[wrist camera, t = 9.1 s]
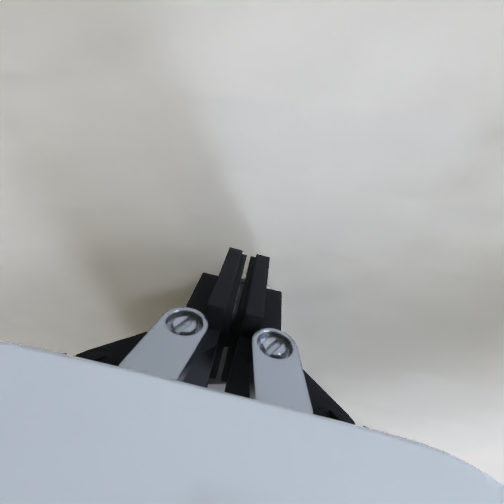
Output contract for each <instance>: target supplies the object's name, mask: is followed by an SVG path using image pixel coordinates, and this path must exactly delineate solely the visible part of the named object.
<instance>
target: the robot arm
mask: <svg viewBox="0 0 504 504" xmlns="http://www.w3.org/2000/svg"><path fill="white" fill-rule="evenodd" d="M242 252H243V251H242V250H238V249H234V248H230V249H229V251H228V254H227V256H226V259H225V261H224V264H223V266H222V269H221V271H220V274H219V276H215V275H211V274H207V273H203V274H202V276H201V278H200V280H199V282H198V284H197V285H196V287H195V289H194V291H193V293H192V295H191V297H190V299H189V301H188V303H187V305H186V307H179V308H174V309H171V310H169V311H167V312H166V313H165V314H163V316H162V317H161V318H160V319H159V320H158V321H157V322H156V324H155V325H154V326H153V327H152V328H151V329H150V330H149V331H148V332H145V333H141V334H138V335H135V336H132V337H129V338H125V339H122V340H119V341H116V342H113V343H109V344H106V345H103V346H100V347H97V348H93V349H90V350H87V351H84V352H82V353H80V354H77V355H76V356H71V355H67V353H58V352H54V351H49V350H44V349H39V348H34V347H29V346H24V345H19V344H14V343H9V342H2V341H0V504H504V486H503V485H502V484H501V483H499V482H498V481H496V480H495V479H493V478H492V477H491V476H489V475H487V474H486V473H484V472H482V471H481V470H479V469H477V468H475V467H474V466H472V465H470V464H469V463H467V462H465V461H463V460H461V459H459V458H457V457H455V456H452V455H450V454H448V453H446V452H444V451H441V450H439V449H436V448H433V447H430V446H428V445H425V444H422V443H419V442H416V441H412V440H409V439H405V438H402V437H399V436H395V435H392V434H388V433H385V432H381V431H378V430H374V429H370V428H367V427H365V426H363V427H362V426H358V425H355V423H354V421H353V420H352V419H351V417H350V416H349V415H348V414H347V413H346V412H345V411H344V410H343V409H342V408H341V407H340V406H339V405H338V404H337V403H336V402H335V401H334V400H333V399H332V398H331V397H330V396H329V395H328V394H327V393H326V392H325V391H324V390H323V389H322V388H321V387H320V386H319V385H318V384H317V383H316V382H315V381H314V380H313V379H312V378H311V377H310V376H309V375H308V374H307V373H306V372H305V371H304V370H303V369H302V364H301V360H300V356H299V352H298V348H297V346H296V343H295V341H294V340H293V339H292V338H291V337H290V336H289V335H288V334H286V333H285V332H282V331H281V302H282V293H281V292H280V291H276V290H272V289H268V288H267V278H268V268H269V259H270V257H266V256H262V255H258V254H257V255H256V257H252V256H251V258H250V262H249V266H248V270H247V274H246V278H245V282H244V286H243V290H242V294H241V298H240V301H239V305H238V309H237V313H236V318H235V322H234V326H233V330H232V335H231V339H230V343H229V347H228V351H227V356H226V360H225V364H224V368H223V373H222V377H221V381H224V382H226V387H225V391H224V392H222V391H218V390H214V389H210V388H207V386H208V383H209V379H210V378H212V379H216V376H217V373H218V369H219V365H220V361H221V357H222V353H223V349H224V345H225V341H226V337H227V333H228V330H229V326H230V322H231V318H232V314H233V310H234V306H235V302H236V298H237V294H238V290H239V285H240V281H241V277H242V273H243V269H244V265H245V261H246V257H247V255H244V254H242Z"/></svg>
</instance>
